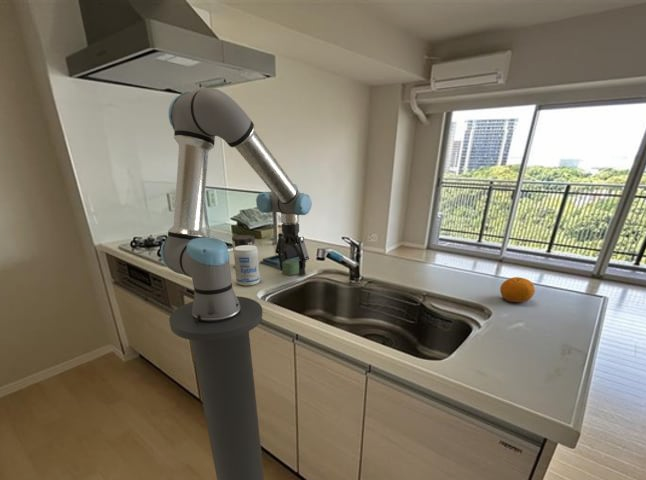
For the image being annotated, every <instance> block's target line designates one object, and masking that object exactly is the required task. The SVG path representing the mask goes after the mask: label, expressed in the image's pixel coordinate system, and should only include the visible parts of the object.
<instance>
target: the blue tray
mask: <svg viewBox="0 0 646 480" xmlns="http://www.w3.org/2000/svg"><path fill="white" fill-rule="evenodd" d="M302 258H303V257H302ZM292 259H295V260H299V261H300V259H299V257H298V255H297V256H295V257H293V258H291V259H287V260H285V261H289V260H292ZM259 264H262V265H265V266H269V267H272V268H275V269H278V270H280V262H279V255H278V254H276V255H272V256H267V257H263V258H262V260H260V263H259Z"/></svg>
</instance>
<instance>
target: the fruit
mask: <svg viewBox="0 0 646 480" xmlns="http://www.w3.org/2000/svg"><path fill="white" fill-rule="evenodd" d="M499 291H500V295H501V296H502V298H503V299H504V300H506V301H507V302H511V303H524V302H528V301H529V300H531V299H532V298H533V297H534V296H535V291H536V288H535V285H534V283H533V282H532V281H531V280H530V279H527V278H524V277H519V276H513V277H509V278H508V279H505V281H503V282H502V284H501V285H500V288H499Z"/></svg>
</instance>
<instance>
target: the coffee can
mask: <svg viewBox="0 0 646 480" xmlns="http://www.w3.org/2000/svg"><path fill="white" fill-rule="evenodd" d="M231 240H232V249H233V250H232V251H233V252H234V248H235V247H237V246H242V245H253V246H256V244H255V243H256V242H255V235H251V234H237V235H232V236H231ZM233 259H234V258H233ZM234 261H235V259H234Z"/></svg>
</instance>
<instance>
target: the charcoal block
mask: <svg viewBox="0 0 646 480" xmlns="http://www.w3.org/2000/svg"><path fill="white" fill-rule="evenodd" d="M284 253H285V254H283V255H285V260H287V259H291V258H293V257H295V256H297V253H296V251H295V249H294V248H293V246H291V245H288V246H287V248H286V250H285V252H284Z"/></svg>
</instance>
